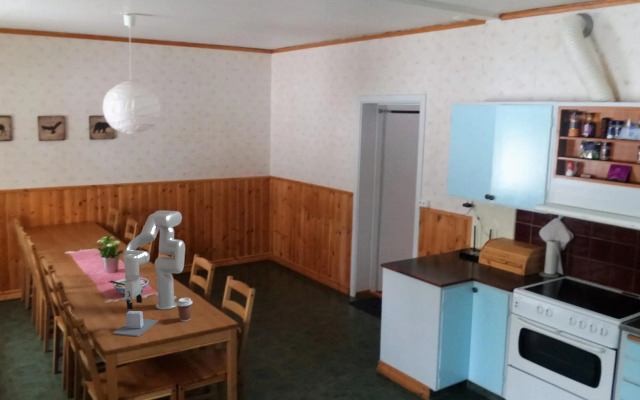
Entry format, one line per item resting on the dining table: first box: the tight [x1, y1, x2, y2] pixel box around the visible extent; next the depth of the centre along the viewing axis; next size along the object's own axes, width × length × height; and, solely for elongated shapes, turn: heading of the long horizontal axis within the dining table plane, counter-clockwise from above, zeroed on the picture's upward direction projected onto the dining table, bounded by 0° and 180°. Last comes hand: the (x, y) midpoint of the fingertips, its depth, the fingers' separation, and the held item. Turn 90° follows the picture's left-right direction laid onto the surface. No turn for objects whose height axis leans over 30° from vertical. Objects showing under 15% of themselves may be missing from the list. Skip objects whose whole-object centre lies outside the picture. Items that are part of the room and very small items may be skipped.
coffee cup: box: [176, 297, 193, 322], centre depth 330 cm, size 9×9×12 cm
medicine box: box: [125, 310, 144, 328], centre depth 317 cm, size 8×4×9 cm, turn 87°
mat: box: [112, 318, 159, 337], centre depth 318 cm, size 22×15×1 cm
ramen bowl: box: [108, 277, 150, 295], centre depth 377 cm, size 25×23×8 cm
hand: (134, 305), depth 316 cm, fingers open, 9 cm apart
